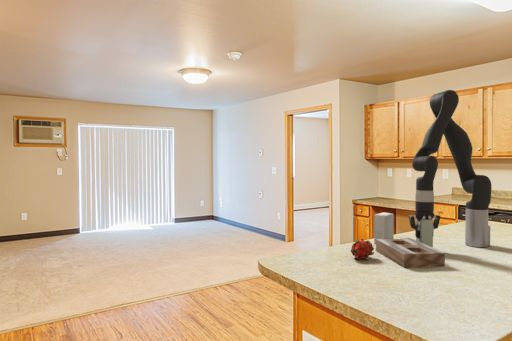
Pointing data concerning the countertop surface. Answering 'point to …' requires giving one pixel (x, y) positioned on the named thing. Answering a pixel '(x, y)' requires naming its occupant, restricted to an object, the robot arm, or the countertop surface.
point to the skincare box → (383, 226)
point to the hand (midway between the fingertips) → (424, 238)
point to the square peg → (426, 232)
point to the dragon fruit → (362, 249)
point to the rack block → (410, 253)
